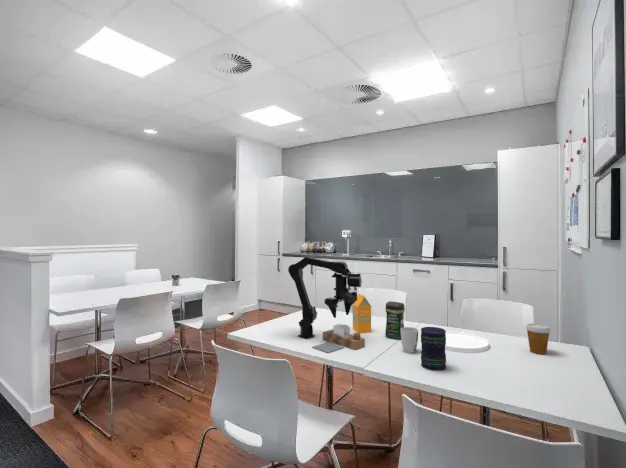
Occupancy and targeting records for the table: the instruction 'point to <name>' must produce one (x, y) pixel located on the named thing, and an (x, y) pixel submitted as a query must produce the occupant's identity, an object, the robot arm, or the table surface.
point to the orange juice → (361, 315)
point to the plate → (465, 342)
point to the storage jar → (433, 348)
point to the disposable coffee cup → (538, 338)
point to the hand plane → (345, 340)
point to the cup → (409, 339)
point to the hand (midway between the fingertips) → (341, 316)
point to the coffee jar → (394, 319)
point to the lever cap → (341, 330)
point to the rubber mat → (328, 347)
